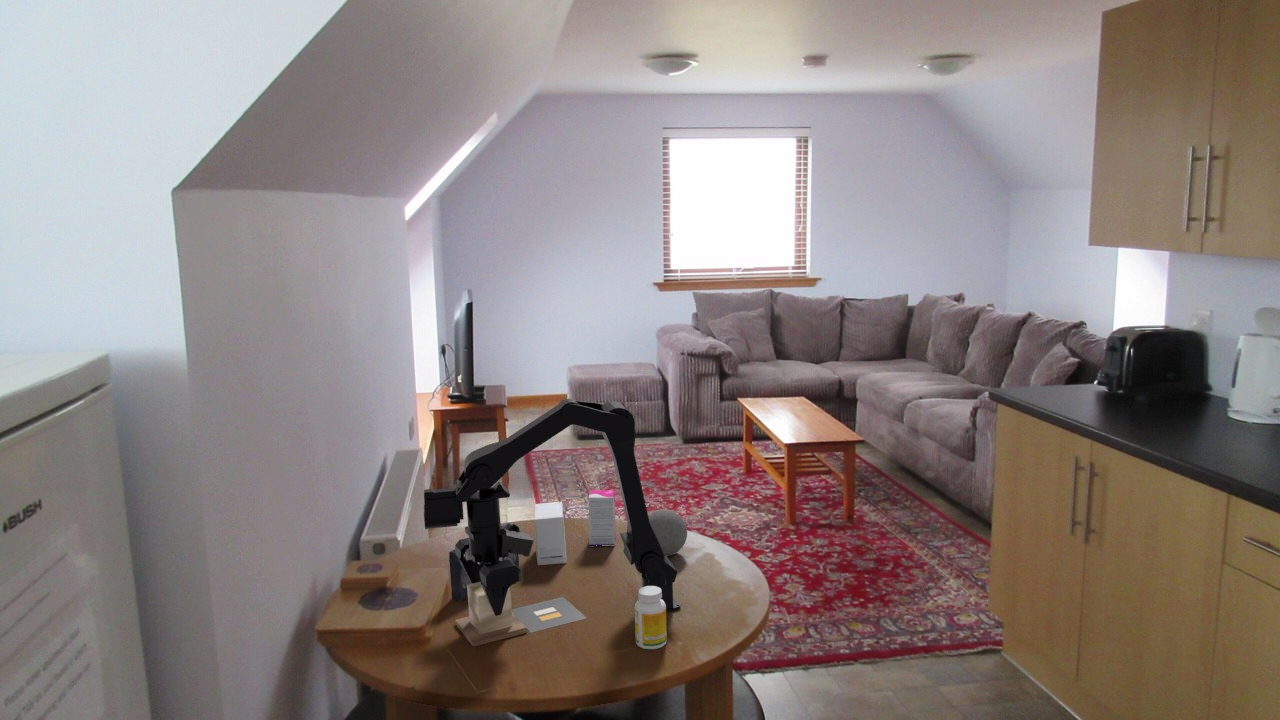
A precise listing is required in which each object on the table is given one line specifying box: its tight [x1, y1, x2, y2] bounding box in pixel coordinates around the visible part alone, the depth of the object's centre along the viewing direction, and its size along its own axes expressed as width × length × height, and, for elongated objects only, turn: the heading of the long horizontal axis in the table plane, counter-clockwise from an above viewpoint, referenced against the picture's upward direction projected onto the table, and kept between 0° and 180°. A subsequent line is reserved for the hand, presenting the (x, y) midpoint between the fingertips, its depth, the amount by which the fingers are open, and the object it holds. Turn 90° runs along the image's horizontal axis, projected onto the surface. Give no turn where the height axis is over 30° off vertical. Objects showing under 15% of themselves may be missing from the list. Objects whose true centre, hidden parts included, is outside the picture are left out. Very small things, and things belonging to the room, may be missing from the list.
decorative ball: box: [648, 508, 688, 557], centre depth 196 cm, size 10×10×10 cm
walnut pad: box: [455, 612, 528, 647], centre depth 164 cm, size 10×10×1 cm
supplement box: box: [588, 489, 616, 546], centre depth 204 cm, size 6×6×12 cm
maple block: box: [467, 582, 513, 634], centre depth 163 cm, size 6×6×7 cm
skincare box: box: [533, 501, 567, 566], centre depth 197 cm, size 10×6×10 cm, turn 6°
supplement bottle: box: [634, 586, 668, 650], centre depth 156 cm, size 5×5×10 cm
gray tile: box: [512, 596, 587, 634], centre depth 169 cm, size 11×11×1 cm
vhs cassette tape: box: [448, 522, 520, 602], centre depth 183 cm, size 18×3×10 cm, turn 148°
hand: (489, 605), depth 163 cm, fingers open, 9 cm apart
